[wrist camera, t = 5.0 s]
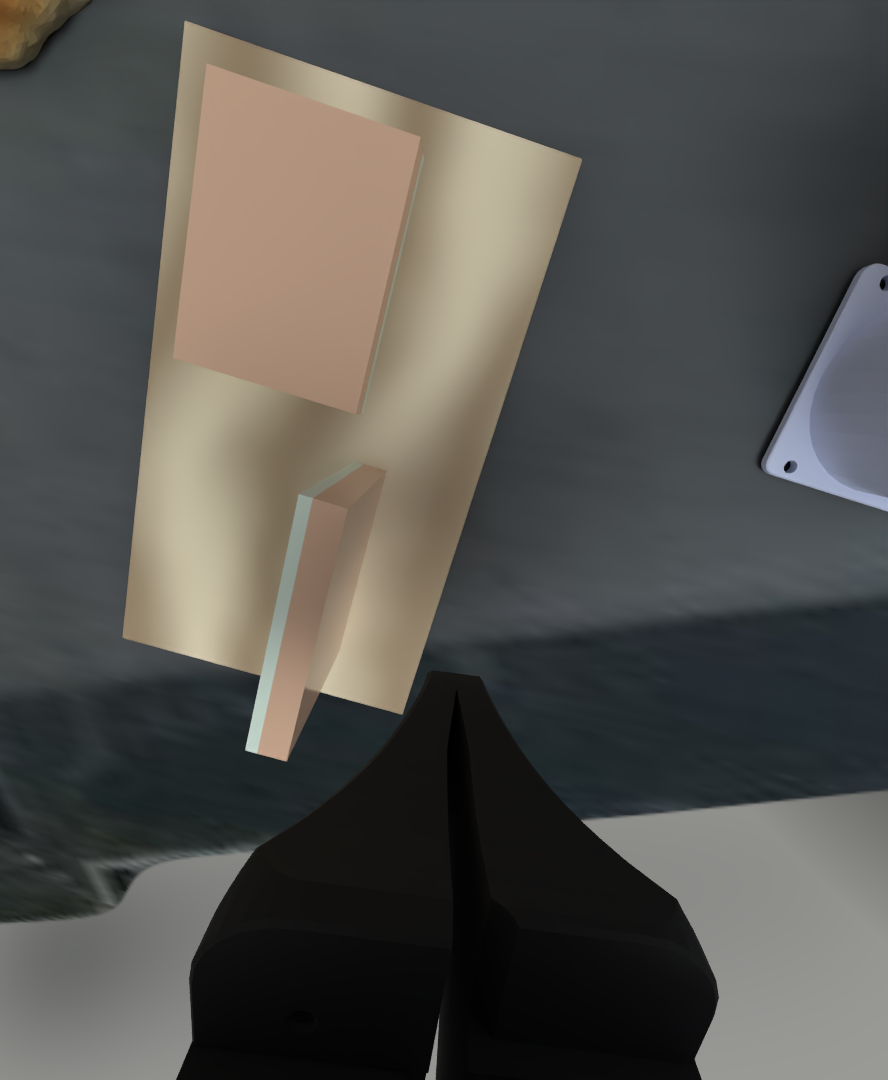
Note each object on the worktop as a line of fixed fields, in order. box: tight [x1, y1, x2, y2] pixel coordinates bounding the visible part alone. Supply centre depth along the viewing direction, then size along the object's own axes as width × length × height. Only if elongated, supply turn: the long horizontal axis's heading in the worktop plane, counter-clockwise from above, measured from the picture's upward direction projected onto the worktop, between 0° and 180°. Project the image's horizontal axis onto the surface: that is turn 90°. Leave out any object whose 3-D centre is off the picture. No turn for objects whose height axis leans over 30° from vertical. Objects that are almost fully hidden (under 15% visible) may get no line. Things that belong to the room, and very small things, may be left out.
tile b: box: [246, 461, 387, 761], centre depth 17 cm, size 1×9×7 cm, turn 163°
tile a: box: [173, 64, 424, 414], centre depth 17 cm, size 1×9×7 cm
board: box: [123, 21, 582, 714], centre depth 19 cm, size 14×24×1 cm, turn 163°
